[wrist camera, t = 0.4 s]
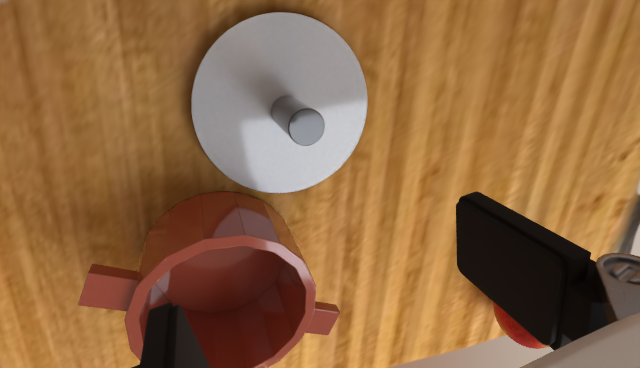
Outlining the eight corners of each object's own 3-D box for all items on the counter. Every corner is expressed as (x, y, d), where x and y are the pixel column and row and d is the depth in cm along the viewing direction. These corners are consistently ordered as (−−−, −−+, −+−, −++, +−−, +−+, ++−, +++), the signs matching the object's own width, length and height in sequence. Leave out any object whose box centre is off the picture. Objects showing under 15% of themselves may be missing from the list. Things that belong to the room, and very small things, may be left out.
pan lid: (230, -27, 23) (242, -48, 18) (388, 63, 29) (437, 69, 23) (165, 158, 26) (158, 193, 21) (321, 206, 32) (349, 243, 26)
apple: (536, 255, 45) (619, 308, 36) (520, 306, 48) (592, 366, 39) (486, 264, 43) (562, 323, 34) (472, 317, 46) (538, 383, 37)
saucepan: (130, 160, 26) (109, 202, 19) (337, 220, 33) (372, 265, 27) (85, 301, 28) (53, 379, 22) (285, 326, 36) (306, 389, 30)
